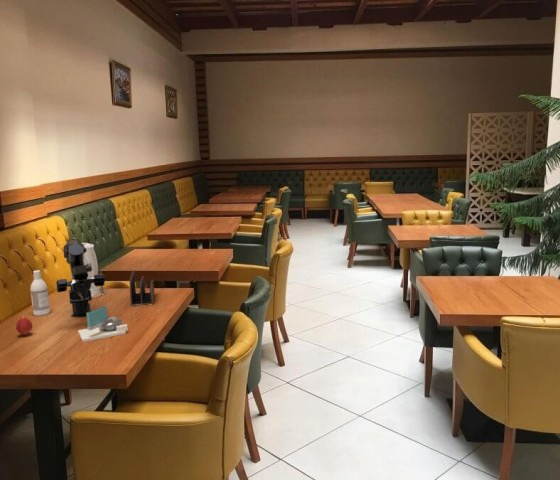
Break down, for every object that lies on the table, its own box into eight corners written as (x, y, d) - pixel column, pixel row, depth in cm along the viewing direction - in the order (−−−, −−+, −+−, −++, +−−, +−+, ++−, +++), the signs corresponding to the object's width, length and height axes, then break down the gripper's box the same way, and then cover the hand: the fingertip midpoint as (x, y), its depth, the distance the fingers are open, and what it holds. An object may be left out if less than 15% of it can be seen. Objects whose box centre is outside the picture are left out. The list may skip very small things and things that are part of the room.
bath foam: (33, 312, 236) (28, 270, 233) (50, 310, 239) (45, 268, 236) (33, 316, 230) (27, 273, 227) (50, 314, 233) (44, 271, 229)
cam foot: (111, 321, 213) (109, 301, 212) (127, 324, 209) (125, 303, 207) (81, 333, 200) (79, 311, 198) (98, 336, 196) (95, 314, 194)
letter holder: (130, 307, 240) (128, 277, 237) (134, 296, 259) (132, 268, 257) (152, 305, 242) (150, 276, 239) (155, 294, 261) (152, 267, 258)
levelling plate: (121, 324, 214) (120, 317, 214) (128, 333, 204) (127, 325, 203) (78, 332, 206) (77, 325, 206) (83, 342, 196) (82, 334, 195)
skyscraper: (92, 298, 256) (86, 243, 252) (81, 297, 260) (75, 242, 256) (105, 294, 263) (100, 240, 259) (94, 293, 267) (89, 240, 263)
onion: (17, 338, 202) (14, 319, 201) (17, 334, 207) (14, 315, 206) (33, 335, 205) (31, 316, 203) (33, 331, 210) (30, 312, 208)
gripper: (53, 260, 206) (60, 293, 199) (102, 254, 215) (109, 285, 208) (54, 276, 215) (60, 307, 207) (100, 269, 223) (107, 300, 216)
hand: (84, 299), depth 209 cm, fingers closed
